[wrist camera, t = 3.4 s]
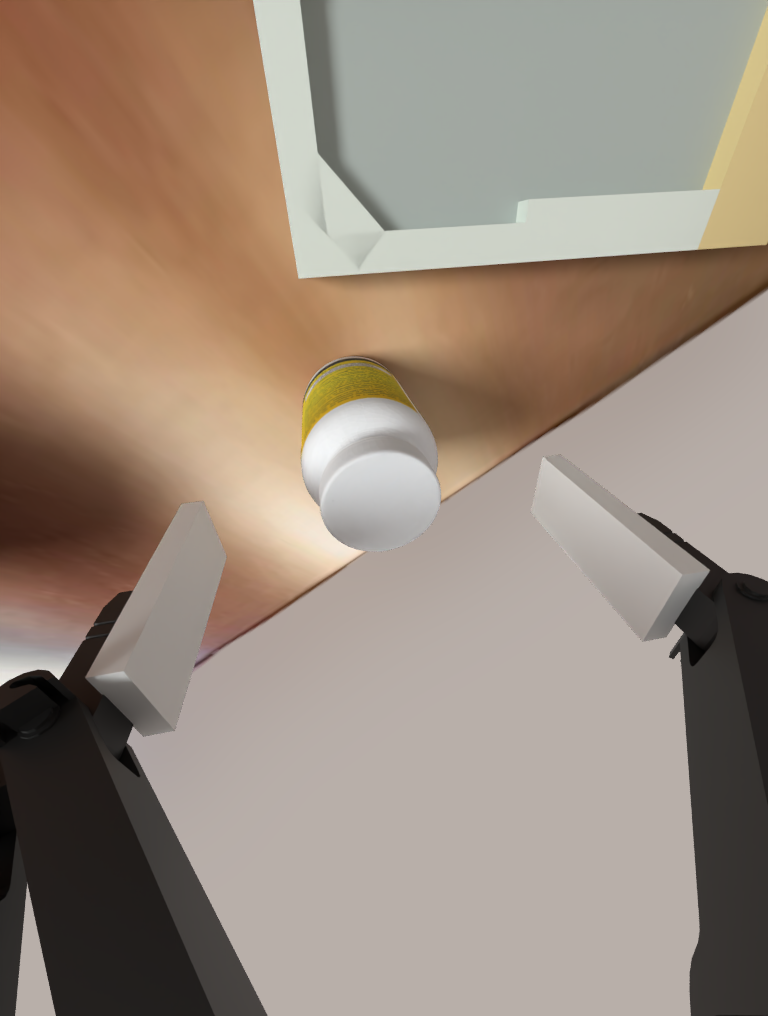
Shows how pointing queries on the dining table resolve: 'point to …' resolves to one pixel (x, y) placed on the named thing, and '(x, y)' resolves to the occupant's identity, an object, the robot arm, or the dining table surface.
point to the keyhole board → (516, 129)
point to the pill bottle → (368, 456)
